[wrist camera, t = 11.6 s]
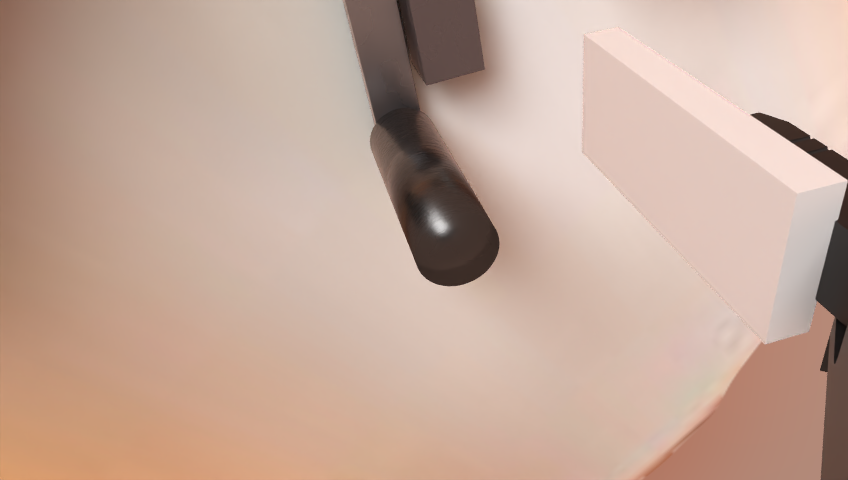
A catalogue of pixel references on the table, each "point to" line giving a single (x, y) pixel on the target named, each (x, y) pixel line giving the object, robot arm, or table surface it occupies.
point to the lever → (423, 129)
